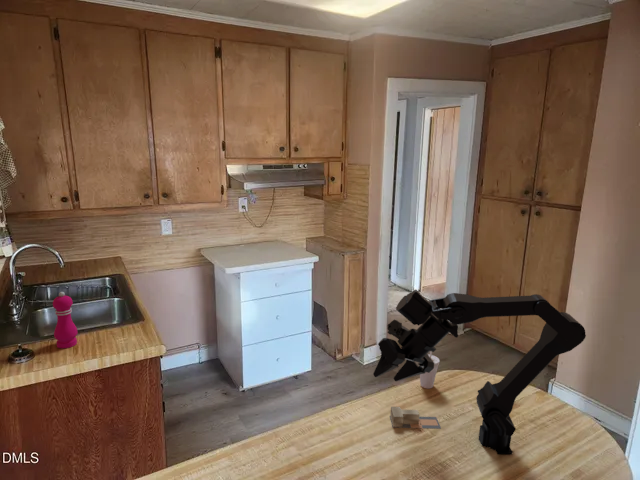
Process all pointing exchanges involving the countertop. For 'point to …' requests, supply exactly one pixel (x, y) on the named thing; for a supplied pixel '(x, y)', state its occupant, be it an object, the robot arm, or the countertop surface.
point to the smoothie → (430, 373)
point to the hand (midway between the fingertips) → (384, 377)
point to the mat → (423, 423)
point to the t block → (403, 416)
